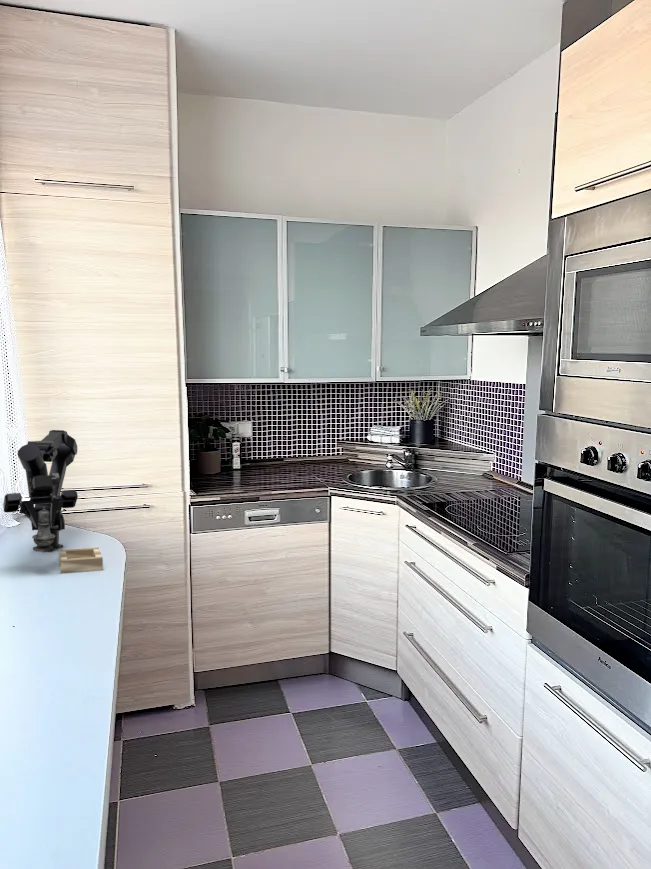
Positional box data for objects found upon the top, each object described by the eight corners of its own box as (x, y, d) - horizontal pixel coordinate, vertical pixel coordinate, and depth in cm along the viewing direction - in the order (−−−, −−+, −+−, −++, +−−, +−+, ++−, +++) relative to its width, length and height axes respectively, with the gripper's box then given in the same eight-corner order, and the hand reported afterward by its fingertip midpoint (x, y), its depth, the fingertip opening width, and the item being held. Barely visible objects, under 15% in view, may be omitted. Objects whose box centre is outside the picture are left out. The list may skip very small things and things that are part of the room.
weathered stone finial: (46, 552, 179) (47, 509, 178) (27, 550, 181) (27, 507, 179) (59, 547, 185) (60, 505, 184) (40, 544, 186) (41, 503, 185)
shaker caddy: (59, 561, 193) (59, 549, 193) (98, 558, 198) (98, 547, 197) (60, 573, 183) (61, 561, 183) (102, 570, 188) (102, 558, 187)
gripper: (4, 464, 178) (10, 514, 170) (76, 462, 189) (85, 508, 181) (0, 487, 186) (6, 535, 178) (70, 483, 196) (78, 529, 188)
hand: (44, 526), depth 181 cm, fingers closed on weathered stone finial, 4 cm apart
